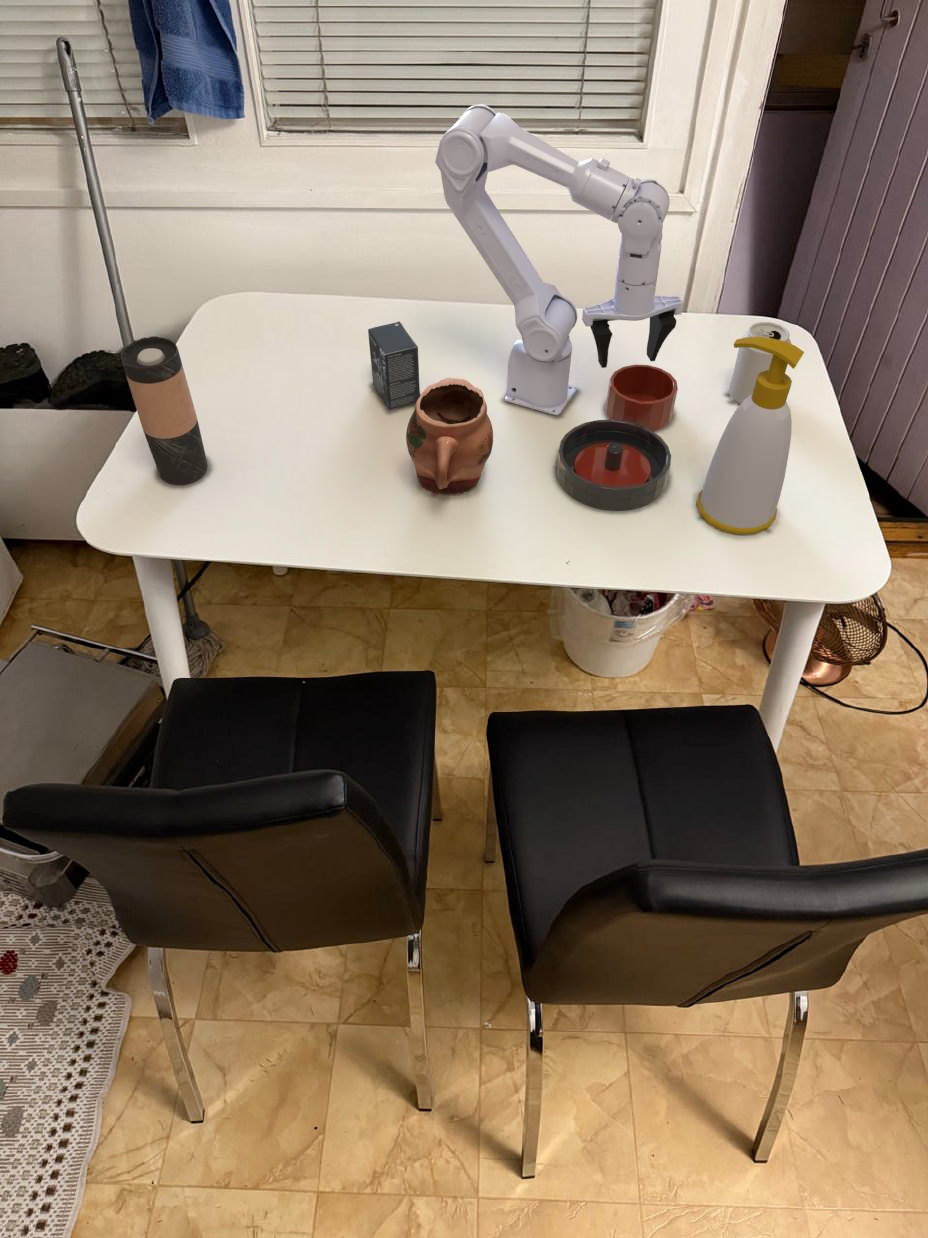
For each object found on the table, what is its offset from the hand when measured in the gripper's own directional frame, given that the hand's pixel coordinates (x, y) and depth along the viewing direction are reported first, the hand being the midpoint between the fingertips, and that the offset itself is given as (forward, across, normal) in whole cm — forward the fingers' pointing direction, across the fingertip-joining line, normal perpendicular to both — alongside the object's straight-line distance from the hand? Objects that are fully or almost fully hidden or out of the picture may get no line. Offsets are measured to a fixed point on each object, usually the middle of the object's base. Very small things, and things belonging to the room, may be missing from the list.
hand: (626, 360), depth 139 cm
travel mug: (+8, +68, +2) cm, 69 cm away
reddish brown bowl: (+10, -3, 0) cm, 10 cm away
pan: (+10, +6, +14) cm, 18 cm away
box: (+9, +34, -12) cm, 37 cm away
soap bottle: (+10, -9, +25) cm, 29 cm away
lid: (+8, +6, +14) cm, 18 cm away
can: (+10, -22, 0) cm, 24 cm away
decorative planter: (+9, +30, +12) cm, 33 cm away
